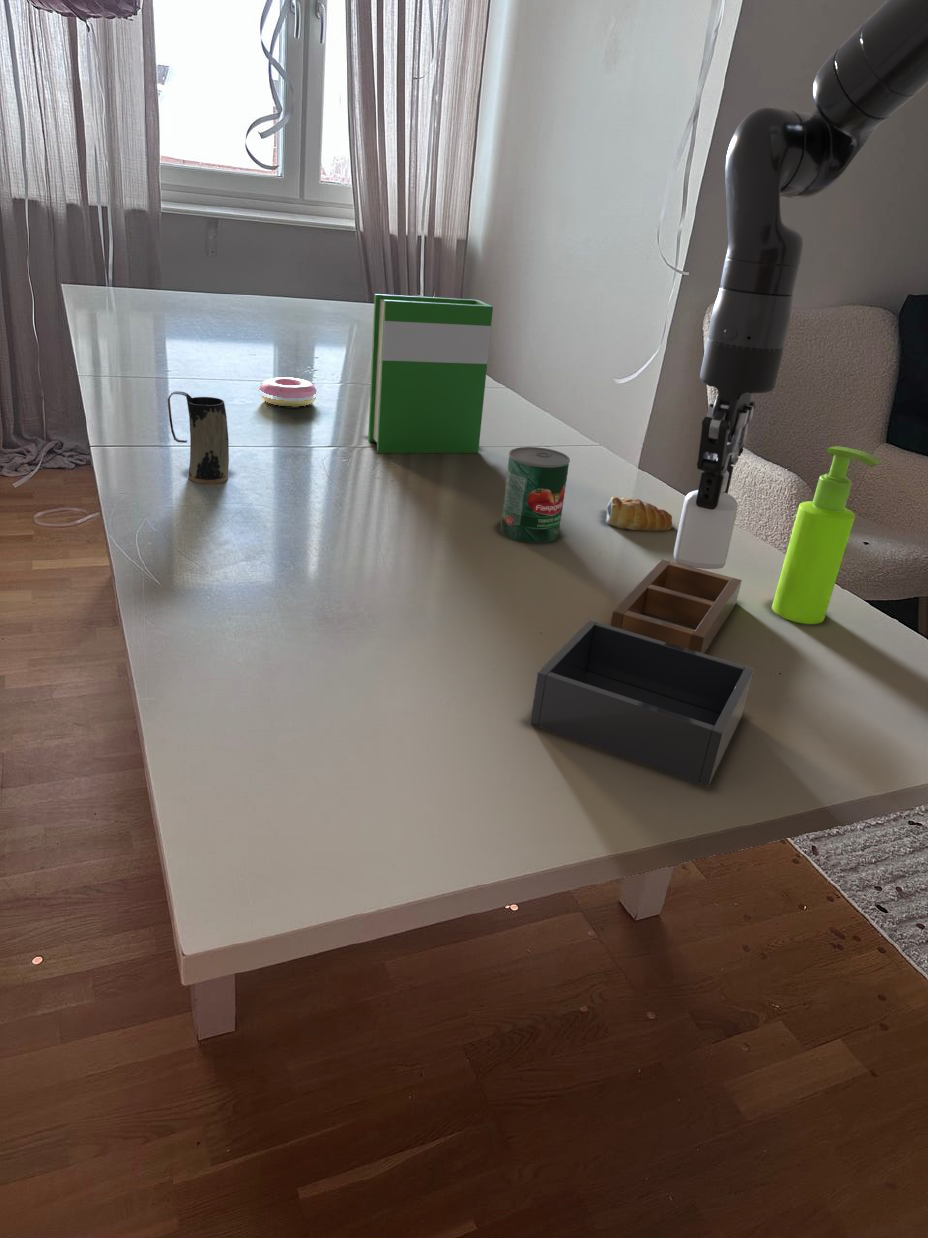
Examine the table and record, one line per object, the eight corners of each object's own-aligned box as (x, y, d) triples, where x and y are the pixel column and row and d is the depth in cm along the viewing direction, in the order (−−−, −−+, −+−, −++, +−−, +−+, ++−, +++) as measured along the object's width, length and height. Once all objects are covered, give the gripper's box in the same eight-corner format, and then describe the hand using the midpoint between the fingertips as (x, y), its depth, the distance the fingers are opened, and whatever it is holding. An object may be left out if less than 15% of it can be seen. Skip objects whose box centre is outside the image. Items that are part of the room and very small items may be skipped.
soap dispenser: (816, 636, 100) (868, 461, 91) (761, 612, 104) (806, 444, 95) (840, 623, 103) (893, 454, 95) (786, 601, 108) (832, 438, 99)
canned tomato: (546, 551, 115) (558, 468, 110) (490, 537, 118) (499, 456, 113) (566, 533, 122) (578, 454, 117) (512, 520, 124) (522, 443, 120)
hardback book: (377, 452, 148) (385, 300, 137) (368, 440, 154) (374, 293, 144) (478, 452, 154) (493, 306, 143) (464, 440, 160) (478, 299, 149)
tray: (735, 607, 105) (742, 579, 103) (696, 668, 90) (704, 637, 89) (656, 585, 108) (661, 558, 107) (607, 640, 94) (612, 611, 92)
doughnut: (326, 408, 172) (326, 386, 170) (271, 410, 166) (271, 388, 164) (303, 394, 180) (303, 373, 178) (250, 396, 174) (250, 375, 172)
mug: (231, 472, 132) (229, 390, 126) (227, 484, 127) (225, 399, 122) (175, 470, 131) (171, 387, 125) (169, 481, 126) (164, 396, 120)
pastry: (666, 521, 130) (672, 496, 128) (673, 538, 124) (679, 512, 122) (602, 514, 130) (606, 489, 129) (606, 531, 124) (611, 505, 122)
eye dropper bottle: (715, 575, 97) (738, 468, 92) (667, 561, 100) (687, 456, 95) (729, 564, 100) (752, 461, 95) (682, 551, 103) (703, 449, 98)
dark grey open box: (740, 721, 82) (754, 668, 79) (706, 792, 71) (722, 733, 69) (580, 670, 88) (589, 619, 85) (529, 728, 77) (537, 672, 75)
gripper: (770, 352, 82) (731, 527, 90) (796, 337, 94) (759, 494, 101) (690, 340, 85) (658, 511, 93) (724, 327, 97) (694, 480, 104)
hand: (711, 501), depth 97 cm, fingers closed on eye dropper bottle, 4 cm apart
